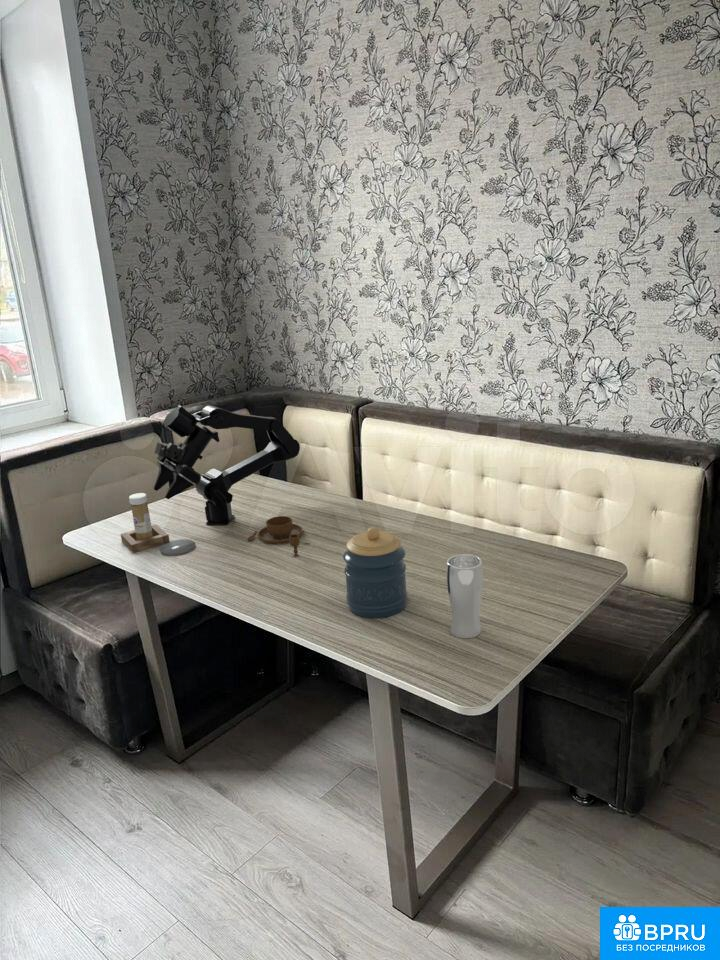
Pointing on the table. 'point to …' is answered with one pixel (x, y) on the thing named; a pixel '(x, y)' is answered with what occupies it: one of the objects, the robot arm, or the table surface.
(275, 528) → the place setting
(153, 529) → the square wooden frame
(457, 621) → the beer glass
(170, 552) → the coaster
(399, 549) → the canister
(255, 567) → the table surface
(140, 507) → the sprinkles bottle
